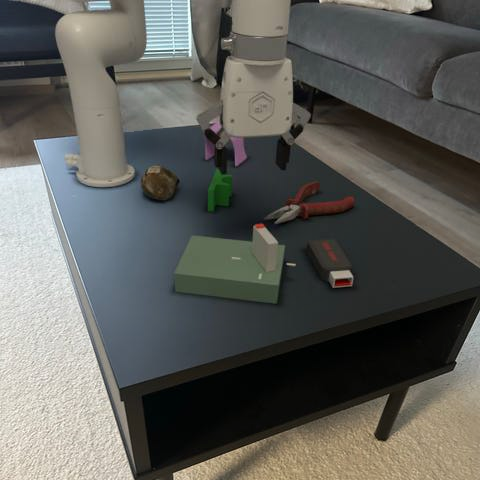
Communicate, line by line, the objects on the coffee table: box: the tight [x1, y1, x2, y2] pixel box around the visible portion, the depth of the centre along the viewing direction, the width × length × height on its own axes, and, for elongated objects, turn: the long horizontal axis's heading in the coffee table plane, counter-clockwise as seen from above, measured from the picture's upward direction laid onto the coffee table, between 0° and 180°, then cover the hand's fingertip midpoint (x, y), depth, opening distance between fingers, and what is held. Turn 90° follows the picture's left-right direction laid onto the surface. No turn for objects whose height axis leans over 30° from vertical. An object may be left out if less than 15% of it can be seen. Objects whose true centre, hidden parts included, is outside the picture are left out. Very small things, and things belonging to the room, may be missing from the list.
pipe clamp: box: [207, 168, 233, 212], centre depth 103 cm, size 11×4×5 cm, turn 173°
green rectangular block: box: [173, 234, 297, 305], centre depth 81 cm, size 18×12×4 cm, turn 81°
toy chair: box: [204, 121, 248, 167], centre depth 118 cm, size 8×9×15 cm
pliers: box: [263, 181, 356, 226], centre depth 101 cm, size 12×20×3 cm, turn 133°
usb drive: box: [305, 238, 355, 289], centre depth 84 cm, size 5×12×3 cm, turn 10°
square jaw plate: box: [252, 223, 279, 272], centre depth 78 cm, size 6×2×5 cm, turn 21°
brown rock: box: [140, 165, 181, 201], centre depth 104 cm, size 8×7×10 cm
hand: (251, 169), depth 79 cm, fingers open, 9 cm apart
